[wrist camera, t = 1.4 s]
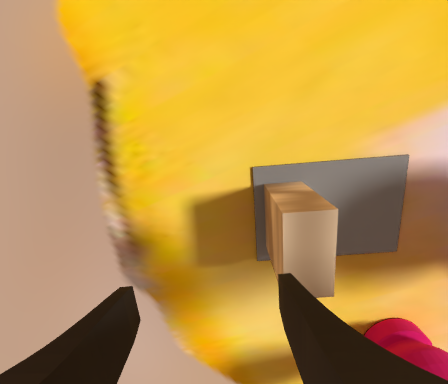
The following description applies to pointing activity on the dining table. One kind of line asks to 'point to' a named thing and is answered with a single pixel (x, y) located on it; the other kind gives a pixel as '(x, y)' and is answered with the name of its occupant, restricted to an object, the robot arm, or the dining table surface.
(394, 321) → the pepper mill
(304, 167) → the grey panel
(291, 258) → the birch block
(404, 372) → the robot arm
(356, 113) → the dining table surface
